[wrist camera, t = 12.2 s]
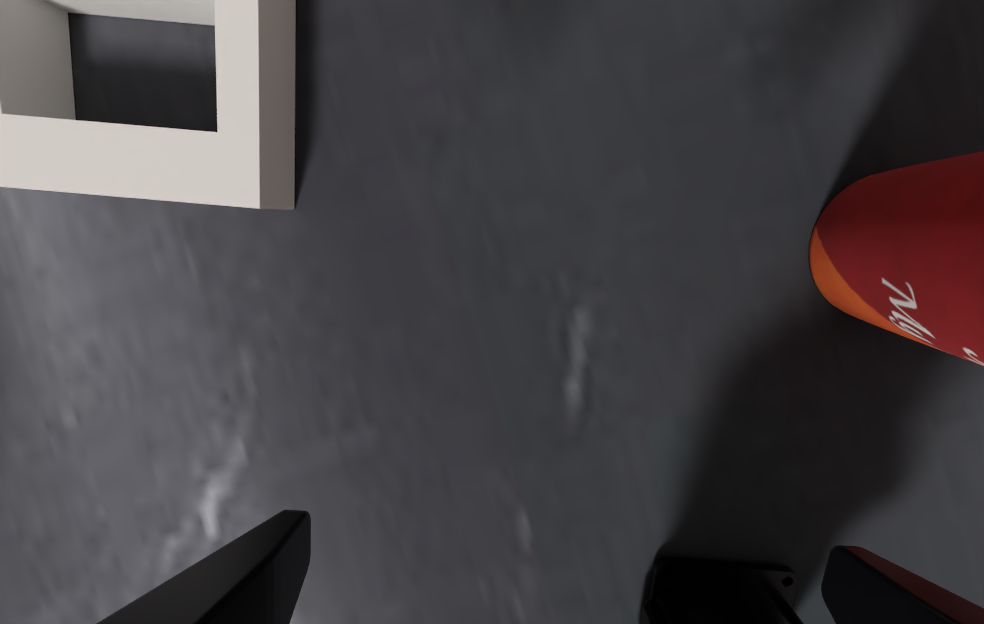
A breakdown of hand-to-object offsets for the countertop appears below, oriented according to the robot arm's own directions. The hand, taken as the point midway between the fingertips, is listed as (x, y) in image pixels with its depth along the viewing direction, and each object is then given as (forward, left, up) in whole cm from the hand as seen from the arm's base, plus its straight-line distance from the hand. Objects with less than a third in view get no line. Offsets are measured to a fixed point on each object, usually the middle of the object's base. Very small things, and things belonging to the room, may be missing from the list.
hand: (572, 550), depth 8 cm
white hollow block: (+15, -10, -13) cm, 22 cm away
